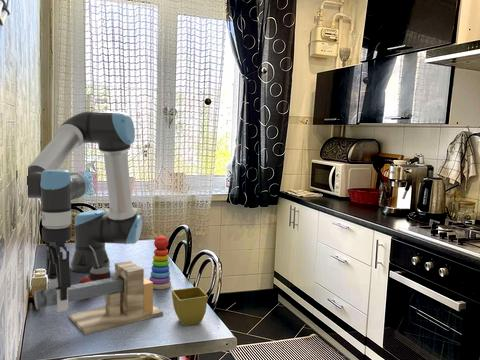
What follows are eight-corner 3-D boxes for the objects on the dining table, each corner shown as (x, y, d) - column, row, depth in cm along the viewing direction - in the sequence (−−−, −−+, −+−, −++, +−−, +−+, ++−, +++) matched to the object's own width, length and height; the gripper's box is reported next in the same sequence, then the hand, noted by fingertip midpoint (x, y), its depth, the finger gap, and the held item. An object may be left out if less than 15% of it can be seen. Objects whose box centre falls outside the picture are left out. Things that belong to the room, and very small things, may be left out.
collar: (131, 303, 144) (131, 276, 143) (140, 301, 146) (140, 274, 145) (143, 312, 137) (143, 284, 136) (152, 310, 139) (152, 282, 138)
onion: (77, 303, 145) (77, 279, 145) (75, 297, 150) (75, 274, 150) (96, 300, 148) (96, 277, 147) (93, 294, 153) (93, 272, 152)
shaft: (34, 306, 124) (33, 288, 123) (129, 286, 141) (129, 271, 140) (39, 312, 120) (38, 294, 119) (136, 291, 137) (136, 275, 136)
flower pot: (178, 330, 128) (179, 300, 127) (170, 318, 136) (171, 289, 135) (207, 325, 131) (208, 296, 130) (198, 314, 139) (198, 286, 138)
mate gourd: (108, 292, 156) (108, 250, 154) (85, 292, 155) (84, 250, 153) (112, 284, 163) (111, 244, 162) (89, 285, 162) (89, 245, 161)
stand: (69, 317, 134) (68, 269, 133) (143, 300, 149) (143, 256, 147) (85, 334, 123) (84, 282, 122) (162, 314, 138) (163, 267, 136)
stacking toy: (166, 291, 158) (166, 239, 156) (145, 289, 160) (145, 237, 158) (174, 284, 166) (174, 234, 164) (154, 282, 167) (154, 233, 165)
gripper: (32, 220, 128) (35, 297, 131) (52, 234, 112) (54, 321, 115) (60, 218, 133) (61, 292, 135) (82, 231, 117) (84, 315, 119)
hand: (58, 305), depth 125 cm, fingers open, 8 cm apart
